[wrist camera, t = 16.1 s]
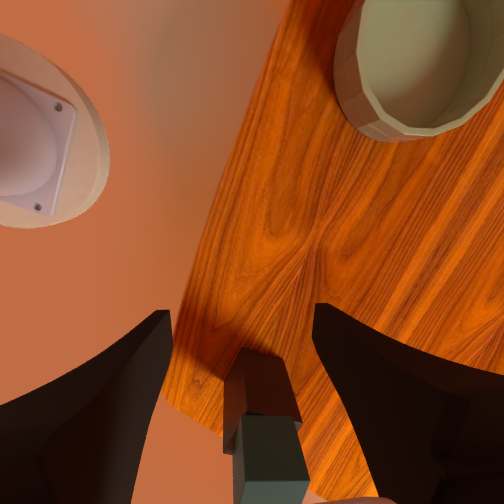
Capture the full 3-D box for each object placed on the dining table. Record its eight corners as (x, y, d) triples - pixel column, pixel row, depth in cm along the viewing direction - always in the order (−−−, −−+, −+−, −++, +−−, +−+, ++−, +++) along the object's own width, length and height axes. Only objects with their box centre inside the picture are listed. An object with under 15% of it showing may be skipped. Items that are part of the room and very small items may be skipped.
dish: (307, 101, 18) (325, 85, 15) (385, -70, 15) (428, -137, 12) (414, 165, 21) (450, 162, 17) (497, 25, 18) (559, -9, 15)
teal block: (232, 452, 19) (233, 524, 15) (240, 413, 18) (244, 481, 14) (281, 452, 20) (295, 522, 16) (292, 415, 19) (311, 481, 15)
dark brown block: (223, 382, 26) (222, 453, 19) (241, 346, 25) (247, 409, 18) (264, 392, 27) (276, 464, 20) (283, 359, 26) (303, 423, 19)
